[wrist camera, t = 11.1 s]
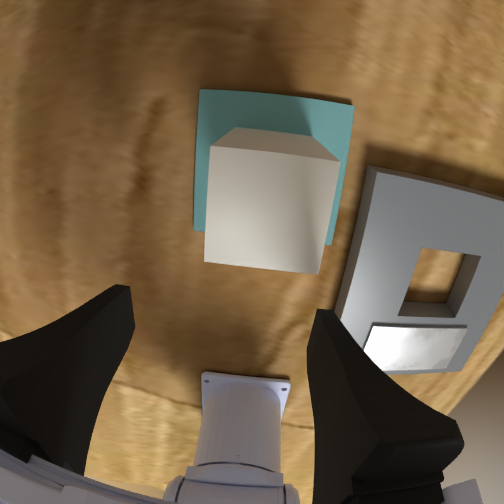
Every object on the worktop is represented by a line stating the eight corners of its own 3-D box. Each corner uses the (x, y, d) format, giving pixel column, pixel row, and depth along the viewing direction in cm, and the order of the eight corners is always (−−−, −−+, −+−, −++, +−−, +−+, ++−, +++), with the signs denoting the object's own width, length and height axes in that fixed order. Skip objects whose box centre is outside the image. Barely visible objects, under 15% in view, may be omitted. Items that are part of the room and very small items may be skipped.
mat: (330, 241, 21) (331, 245, 21) (195, 227, 21) (193, 230, 21) (352, 105, 17) (354, 106, 17) (201, 89, 17) (199, 89, 17)
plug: (301, 208, 20) (318, 274, 13) (229, 199, 20) (204, 261, 13) (312, 136, 18) (340, 162, 11) (235, 127, 18) (210, 146, 11)
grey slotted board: (453, 356, 26) (461, 373, 24) (320, 356, 26) (323, 376, 24) (518, 202, 19) (535, 212, 16) (367, 164, 19) (378, 173, 17)
